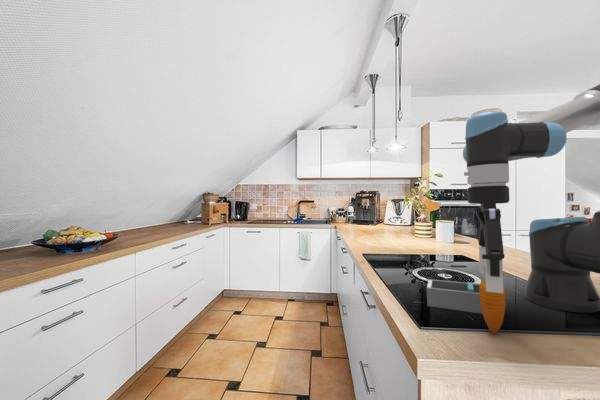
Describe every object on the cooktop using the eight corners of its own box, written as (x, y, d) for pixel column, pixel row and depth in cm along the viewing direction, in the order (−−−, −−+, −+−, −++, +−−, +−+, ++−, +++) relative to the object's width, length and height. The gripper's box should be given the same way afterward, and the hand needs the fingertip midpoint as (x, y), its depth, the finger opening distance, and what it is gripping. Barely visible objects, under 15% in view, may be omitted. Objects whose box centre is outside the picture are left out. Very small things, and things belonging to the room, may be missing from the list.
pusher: (472, 298, 76) (472, 282, 76) (474, 306, 71) (473, 289, 71) (467, 297, 77) (467, 282, 77) (469, 305, 72) (468, 288, 72)
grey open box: (497, 303, 75) (496, 285, 75) (502, 316, 67) (502, 296, 67) (429, 295, 83) (428, 279, 83) (427, 306, 75) (426, 288, 75)
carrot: (502, 329, 61) (499, 263, 61) (512, 340, 56) (509, 268, 56) (477, 327, 62) (474, 262, 62) (485, 338, 58) (482, 268, 57)
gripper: (464, 187, 72) (467, 267, 72) (470, 184, 50) (474, 298, 50) (499, 186, 68) (501, 269, 68) (522, 182, 46) (525, 305, 46)
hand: (490, 282), depth 59 cm, fingers open, 13 cm apart
